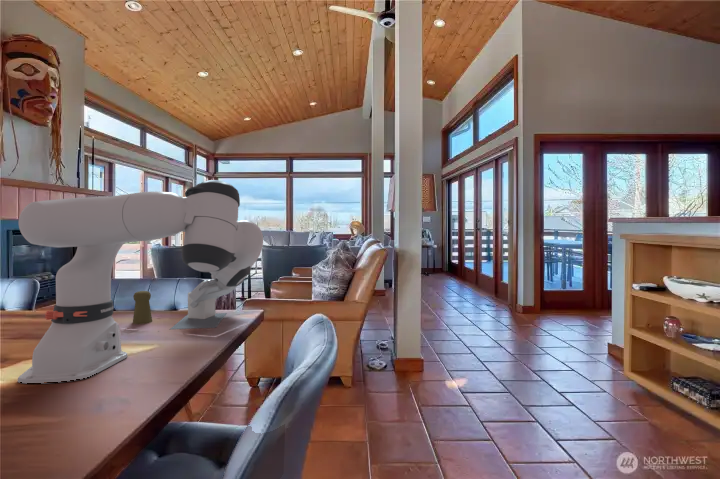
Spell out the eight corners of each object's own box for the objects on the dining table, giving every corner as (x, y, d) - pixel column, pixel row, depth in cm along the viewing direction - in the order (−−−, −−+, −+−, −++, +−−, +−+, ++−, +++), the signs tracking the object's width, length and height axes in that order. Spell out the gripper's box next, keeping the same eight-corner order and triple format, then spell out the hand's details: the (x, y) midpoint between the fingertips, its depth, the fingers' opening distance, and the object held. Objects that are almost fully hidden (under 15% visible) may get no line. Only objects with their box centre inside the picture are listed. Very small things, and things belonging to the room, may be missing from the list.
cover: (215, 315, 146) (215, 290, 146) (204, 319, 140) (204, 293, 140) (199, 314, 148) (199, 290, 148) (188, 318, 141) (187, 292, 141)
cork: (133, 322, 137) (132, 290, 137) (153, 320, 140) (152, 289, 139) (131, 326, 132) (131, 293, 131) (152, 324, 134) (151, 291, 134)
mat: (215, 329, 128) (215, 327, 128) (169, 330, 126) (169, 329, 126) (226, 314, 150) (226, 313, 150) (187, 315, 147) (187, 314, 147)
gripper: (212, 288, 130) (187, 316, 133) (246, 280, 150) (223, 305, 153) (200, 274, 131) (175, 302, 134) (235, 268, 151) (213, 293, 154)
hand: (201, 303), depth 143 cm, fingers open, 8 cm apart
